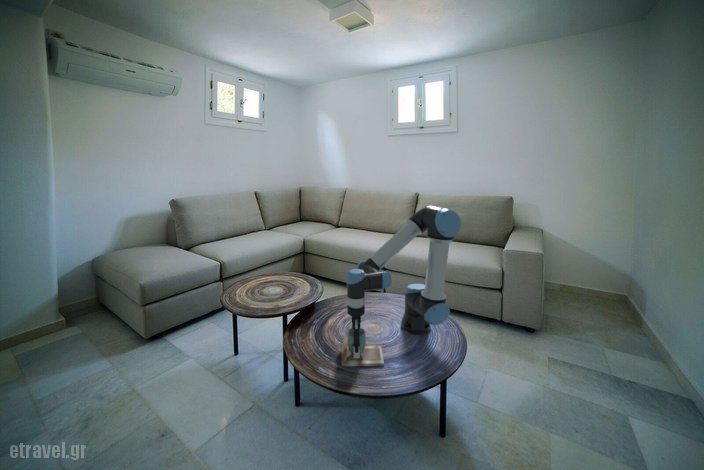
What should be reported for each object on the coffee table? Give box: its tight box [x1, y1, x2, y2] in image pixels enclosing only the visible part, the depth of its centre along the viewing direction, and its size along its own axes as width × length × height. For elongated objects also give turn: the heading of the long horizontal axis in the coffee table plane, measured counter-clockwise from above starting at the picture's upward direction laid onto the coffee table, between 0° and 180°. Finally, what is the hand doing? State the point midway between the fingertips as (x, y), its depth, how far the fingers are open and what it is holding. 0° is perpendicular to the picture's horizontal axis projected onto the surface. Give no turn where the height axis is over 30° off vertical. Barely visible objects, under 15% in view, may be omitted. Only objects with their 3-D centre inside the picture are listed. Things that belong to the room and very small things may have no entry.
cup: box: [346, 327, 367, 354], centre depth 134 cm, size 8×8×10 cm
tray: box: [341, 335, 385, 367], centre depth 135 cm, size 18×13×6 cm
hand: (356, 351), depth 135 cm, fingers closed on cup, 8 cm apart
